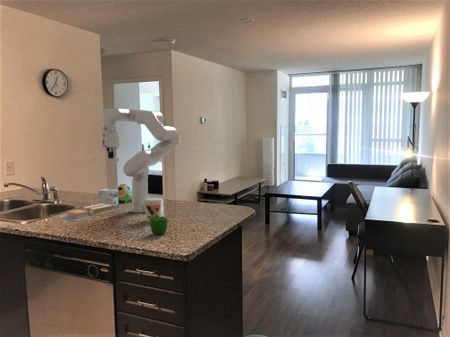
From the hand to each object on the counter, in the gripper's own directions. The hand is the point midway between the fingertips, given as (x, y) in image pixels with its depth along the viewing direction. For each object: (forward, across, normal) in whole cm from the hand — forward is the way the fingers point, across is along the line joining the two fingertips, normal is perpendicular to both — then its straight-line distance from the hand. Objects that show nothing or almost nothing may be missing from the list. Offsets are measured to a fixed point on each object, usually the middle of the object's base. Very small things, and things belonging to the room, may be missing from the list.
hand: (111, 158), depth 244 cm
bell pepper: (+32, -27, -67) cm, 79 cm away
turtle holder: (+32, +21, +14) cm, 41 cm away
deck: (+32, -13, -3) cm, 35 cm away
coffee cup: (+32, -9, -45) cm, 56 cm away
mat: (+32, -28, -3) cm, 43 cm away
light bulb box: (+32, +5, +10) cm, 34 cm away
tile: (+29, -27, -3) cm, 40 cm away
